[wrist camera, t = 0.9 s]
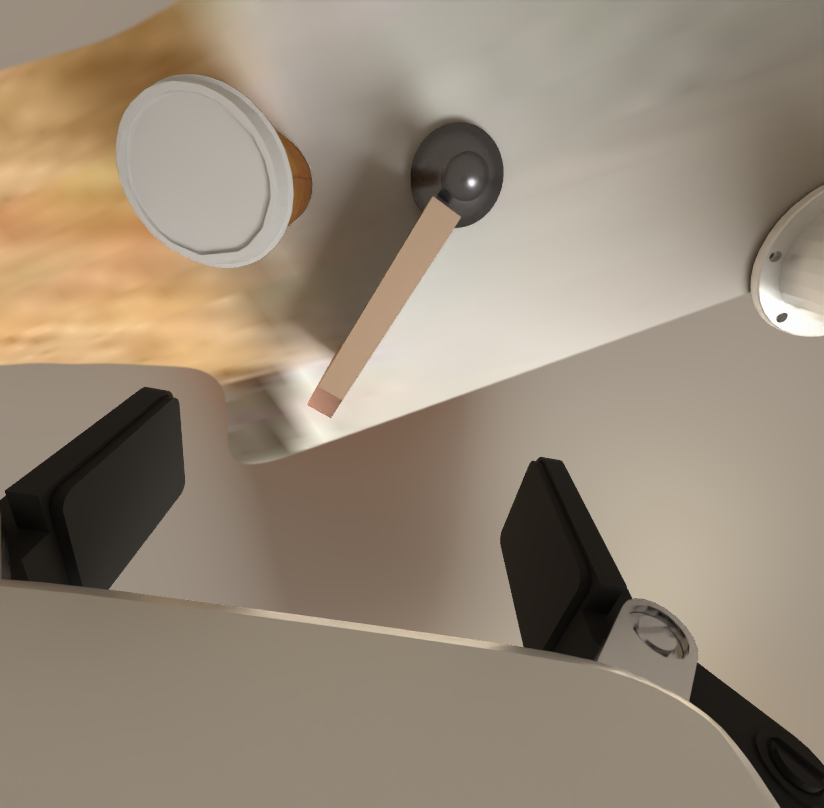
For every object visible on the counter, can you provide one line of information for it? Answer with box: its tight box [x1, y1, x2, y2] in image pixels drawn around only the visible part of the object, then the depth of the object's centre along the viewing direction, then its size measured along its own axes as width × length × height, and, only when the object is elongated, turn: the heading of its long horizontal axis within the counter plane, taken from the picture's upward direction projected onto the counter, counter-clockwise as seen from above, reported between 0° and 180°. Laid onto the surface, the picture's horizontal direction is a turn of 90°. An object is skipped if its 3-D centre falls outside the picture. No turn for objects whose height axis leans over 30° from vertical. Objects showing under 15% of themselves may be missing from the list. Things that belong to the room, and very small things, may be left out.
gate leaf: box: [307, 195, 461, 418], centre depth 31 cm, size 16×2×9 cm, turn 147°
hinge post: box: [411, 123, 503, 228], centre depth 27 cm, size 7×7×11 cm
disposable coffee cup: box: [116, 74, 312, 268], centre depth 28 cm, size 10×10×12 cm
